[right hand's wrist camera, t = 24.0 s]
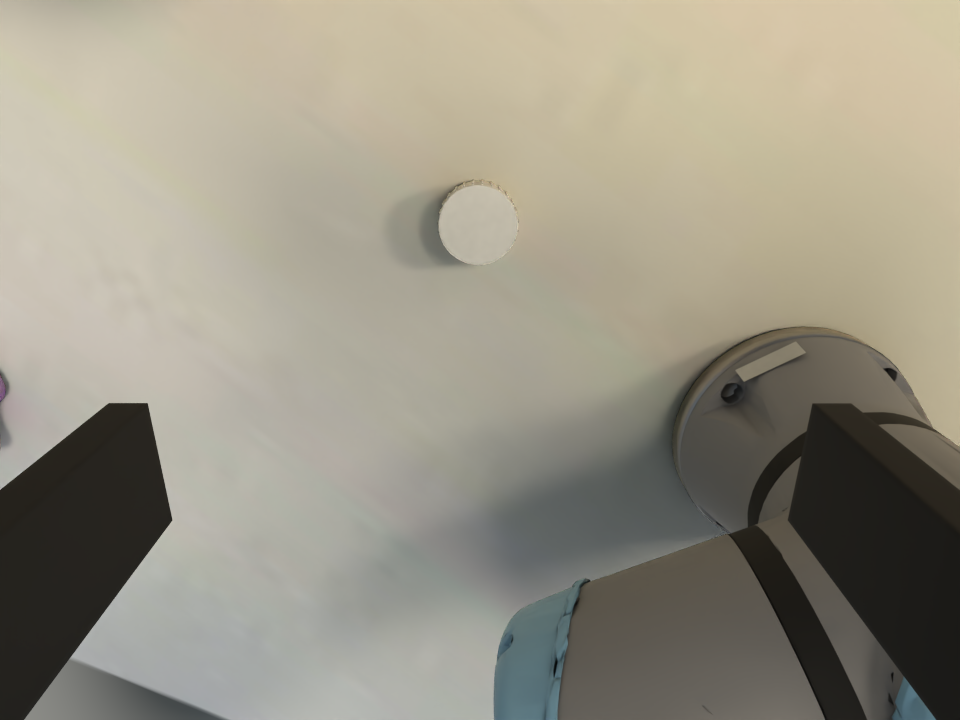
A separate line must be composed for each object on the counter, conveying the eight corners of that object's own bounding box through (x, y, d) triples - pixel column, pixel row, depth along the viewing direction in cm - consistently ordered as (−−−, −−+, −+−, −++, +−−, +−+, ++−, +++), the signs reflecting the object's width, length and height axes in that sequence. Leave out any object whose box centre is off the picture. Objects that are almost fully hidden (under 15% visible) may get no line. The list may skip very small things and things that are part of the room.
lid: (438, 255, 39) (436, 265, 37) (440, 177, 37) (437, 181, 35) (514, 259, 39) (516, 268, 37) (519, 180, 37) (522, 185, 35)
